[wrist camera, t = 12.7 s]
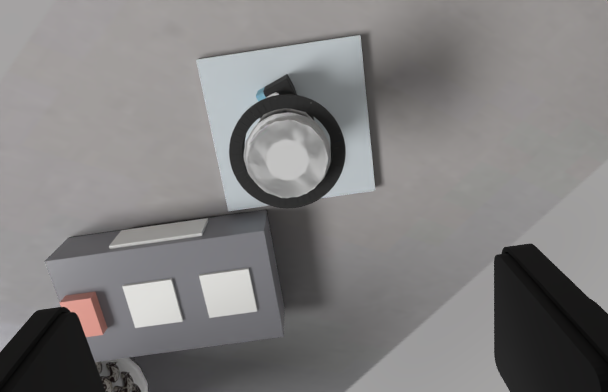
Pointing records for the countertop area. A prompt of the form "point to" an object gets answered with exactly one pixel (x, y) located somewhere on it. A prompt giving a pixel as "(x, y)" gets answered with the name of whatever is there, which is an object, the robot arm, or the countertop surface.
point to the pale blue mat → (308, 82)
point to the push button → (286, 148)
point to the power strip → (172, 285)
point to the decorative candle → (122, 376)
